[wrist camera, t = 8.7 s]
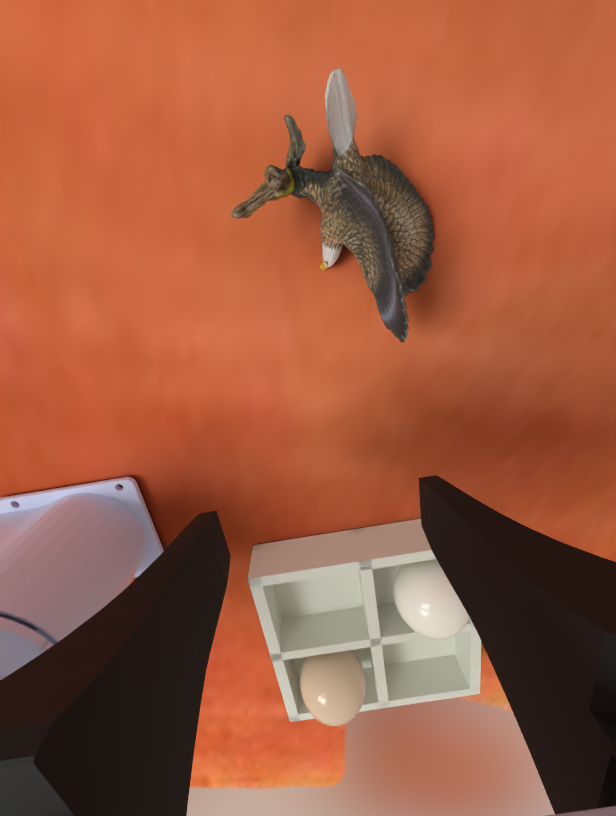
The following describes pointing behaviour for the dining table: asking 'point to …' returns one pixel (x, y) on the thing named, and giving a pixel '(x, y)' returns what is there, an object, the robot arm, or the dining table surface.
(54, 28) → the dining table surface
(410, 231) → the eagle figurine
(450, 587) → the cream egg
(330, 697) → the brown egg
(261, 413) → the dining table surface
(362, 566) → the egg tray
